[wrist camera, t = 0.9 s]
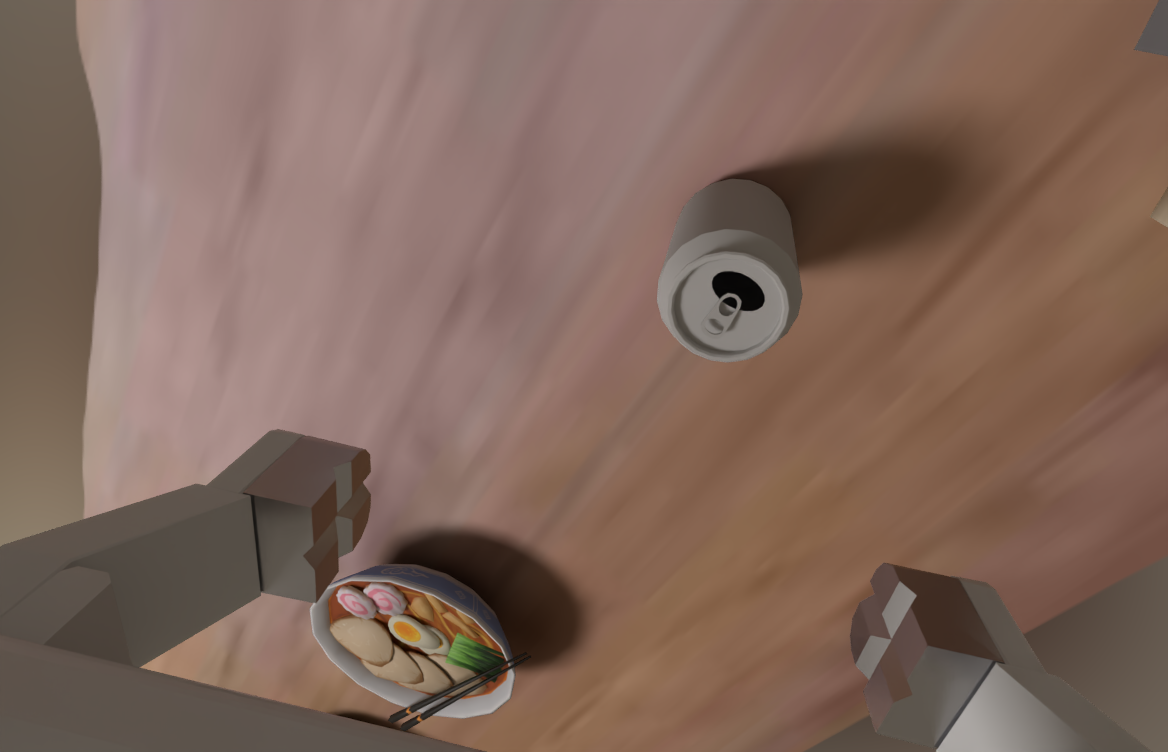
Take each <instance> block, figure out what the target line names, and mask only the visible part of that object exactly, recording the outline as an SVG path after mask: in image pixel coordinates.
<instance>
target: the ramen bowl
mask: <svg viewBox="0 0 1168 752" xmlns="http://www.w3.org/2000/svg"><path fill="white" fill-rule="evenodd" d="M310 616H311V624H312V632H313V635H314V637H315V638H316V640H317V641H318V643H319V644H320V646H321V647H322V649H323V650H324V652H325V653H326V655H327V656H328V657H329V659H330V660H331V661H332V662H333V663H334V664H335V665H336V666H338V667H339V668H340V669H341V670H342V671H343V672H344V673H346V674H347V675H348V676H349V677H350V678H351V679H352V680H354V681H355V682H356V683H357V684H359V685H360V686H362V687H364V688H366V689H368V690H369V691H371V692H373V693H375V694H377V695H378V696H380V697H382V698H384V699H386V700H388V701H389V702H391V703H394V704H397V705H400V706H403V707H406V708H405V709H403V710H401V711H399V712H397V713H395V714H393V715H391V716H390V718H389V720H388V721H390V722H391V723H394V722H396V721H398V720H400V719H402V718H404V717H406V716H408V715H409V714H410V713H413V712H415V711H418V712H421V713H422V714H421V715H418V716H416V717H414V718H412V719H410V720H408V721H407V722H405V723H403V724H402V726H401V728H400V729H401V730H403V731H406V730H408V729H410V728H411V727H413V726H415V725H416V724H418V723H420V722H421V721H423V720H425V719H427V718H428V717H430V716H442V717H452V718H461V719H464V718H470V717H475V716H481V715H486V714H492V713H494V712H495V711H496V710H497V709H498V708H500V707H501V706H502V705H503V704H505V703H506V702H507V701H508V700H509V699H511V695H512V690H513V685H514V681H515V676H516V675H515V666H517V665H519V664H520V663H522V662H524V661H525V660H527V659H529V658H531V656H528V657H526V658H524V659H523V660H521V661H519V662H517V663H515V664H514V660H516V659H518V658H520V657H522V656H524V655H526V654H527V652H525V653H523V654H521V655H519V656H517V657H515V658H513V656H512V653H511V649H510V646H509V643H508V641H507V639H506V636H505V634H504V632H503V630H502V627H501V625H500V623H499V621H498V618H497V616H496V614H495V612H494V611H493V610H492V609H491V608H490V607H489V606H488V605H487V604H486V603H485V602H484V600H483V599H482V598H481V597H480V596H479V595H478V594H477V593H476V592H475V591H474V590H473V589H471V588H470V587H468V586H467V585H465V584H463V583H461V582H460V581H458V580H456V579H455V578H453V577H451V576H450V575H448V574H446V573H442V572H439V571H436V570H433V569H430V568H426V567H423V566H420V565H415V564H383V565H379V566H375V567H372V568H369V569H367V570H364V571H361V572H359V573H356V574H353V575H351V576H348V577H345V578H343V579H340V580H338V581H336V582H334V583H332V584H330V585H329V586H328V587H327V589H326V590H325V592H324V593H323V595H322V596H321V598H320V599H319V600H318V602H317V603H313V605H312V606H311V608H310Z"/></svg>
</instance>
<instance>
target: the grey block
mask: <svg viewBox="0 0 1168 752" xmlns="http://www.w3.org/2000/svg"><path fill="white" fill-rule="evenodd" d="M1134 50H1138V51H1143V52H1149V53H1154V54H1159V55H1164V56H1168V0H1159V2H1158V4H1157V6H1156V8H1155V10H1154V11H1153V13H1152V15H1151V17H1150V19H1149V21H1148V23H1147V25H1146V27H1145V29H1144V31H1143V33H1142V35H1141V37H1140V39H1139V41H1138V43H1137V45H1136V47H1135V49H1134Z"/></svg>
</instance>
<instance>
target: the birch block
mask: <svg viewBox="0 0 1168 752" xmlns="http://www.w3.org/2000/svg"><path fill="white" fill-rule="evenodd" d="M1150 217H1151V218H1153V219H1155V220H1156V221H1158V222H1160V223H1161V224H1163V225H1164V226H1166V227H1168V187H1167V189H1166V191H1165V192H1164V194H1163V196H1162V197H1161V199H1160V201H1159V202H1158V204H1157V206H1156V207H1155V209H1154V211H1153V212H1152V214H1151V216H1150Z"/></svg>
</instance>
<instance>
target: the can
mask: <svg viewBox="0 0 1168 752" xmlns="http://www.w3.org/2000/svg"><path fill="white" fill-rule="evenodd" d="M801 299H802V288H801V281H800V275H799V268H798V262H797V255H796V249H795V242H794V236H793V230H792V223H791V217H790V214H789V212H788V210H787V208H786V207H785V205H784V203H783V201H782V199H781V198H779V197H778V196H777V195H776V194H775V193H774V192H773V191H771V190H770V189H769V188H768V187H766V186H764V185H761V184H759V183H756V182H754V181H751V180H742V179H728V180H724V181H720V182H716V183H712V184H710V185H709V186H707V187H705V188H704V189H702V190H700V191H699V192H697V193H696V194H695V195H694V196H693V197H692V198H691V199H690V200H689V201H688V203H687V204H686V205H685V206H684V207H683V209H682V212H681V214H680V216H679V218H678V221H677V223H676V226H675V229H674V233H673V236H672V239H671V242H670V245H669V249H668V252H667V255H666V258H665V262H664V265H663V268H662V271H661V274H660V278H659V281H658V294H657V302H658V306H659V310H660V314H661V317H662V320H663V322H664V323H665V325H666V326H667V328H668V329H669V330H670V332H671V333H672V335H673V336H674V337H675V338H676V339H677V340H678V341H679V342H680V343H681V344H682V345H683V346H685V347H686V348H687V349H688V350H690V351H691V352H692V353H694V354H696V355H698V356H701V357H703V358H706V359H708V360H712V361H721V362H735V361H742V360H747V359H750V358H752V357H754V356H756V355H759V354H761V353H763V352H765V351H766V350H767V349H768V348H770V347H771V346H773V345H774V344H775V343H776V342H777V341H778V340H780V339H781V338H782V337H783V336H784V335H785V334H787V332H788V331H789V329H790V328H791V326H792V324H793V323H794V321H795V319H796V318H797V316H798V313H799V309H800V304H801Z"/></svg>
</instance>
